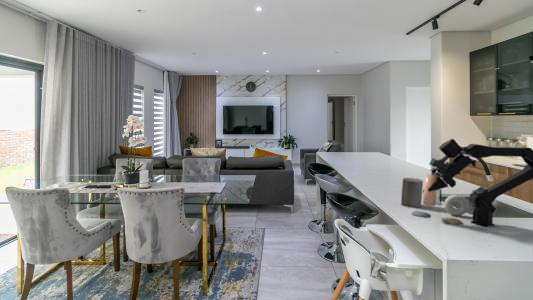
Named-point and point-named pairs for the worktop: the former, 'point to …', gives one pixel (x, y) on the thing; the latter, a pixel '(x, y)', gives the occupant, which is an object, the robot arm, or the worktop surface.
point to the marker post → (430, 196)
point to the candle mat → (420, 214)
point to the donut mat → (451, 220)
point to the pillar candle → (412, 192)
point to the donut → (456, 211)
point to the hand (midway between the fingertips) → (426, 189)
